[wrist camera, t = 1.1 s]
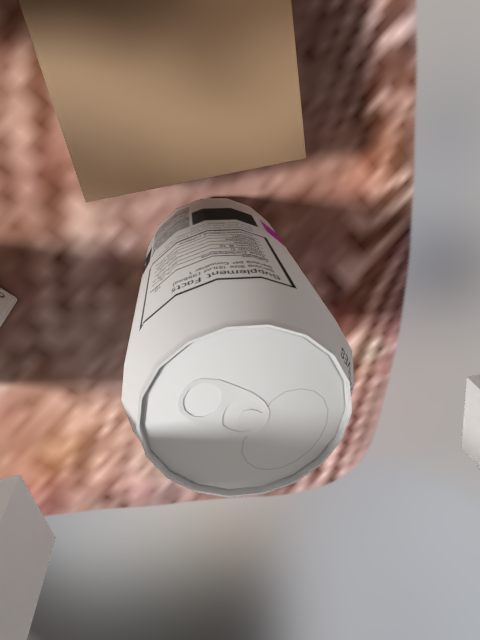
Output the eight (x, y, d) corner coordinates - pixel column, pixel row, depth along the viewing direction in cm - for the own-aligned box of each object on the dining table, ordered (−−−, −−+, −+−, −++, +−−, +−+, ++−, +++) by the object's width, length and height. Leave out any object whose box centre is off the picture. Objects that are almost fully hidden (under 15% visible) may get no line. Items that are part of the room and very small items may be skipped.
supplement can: (303, 235, 27) (420, 369, 14) (237, 339, 30) (283, 531, 17) (186, 168, 25) (193, 255, 12) (125, 289, 28) (75, 471, 14)
